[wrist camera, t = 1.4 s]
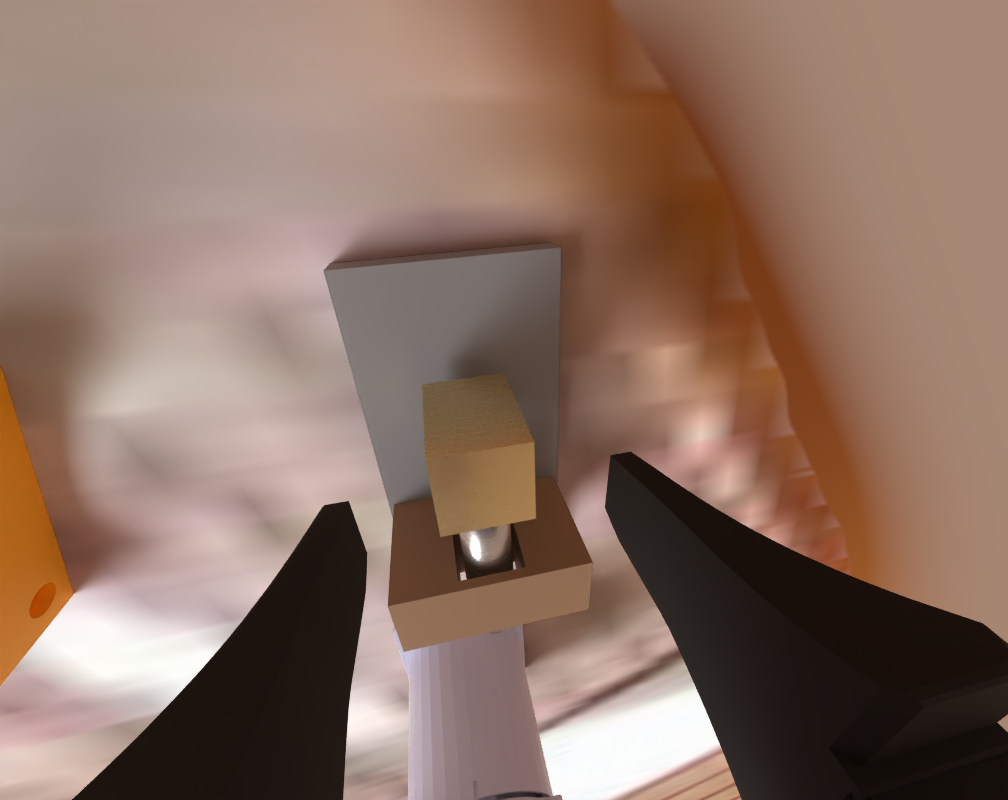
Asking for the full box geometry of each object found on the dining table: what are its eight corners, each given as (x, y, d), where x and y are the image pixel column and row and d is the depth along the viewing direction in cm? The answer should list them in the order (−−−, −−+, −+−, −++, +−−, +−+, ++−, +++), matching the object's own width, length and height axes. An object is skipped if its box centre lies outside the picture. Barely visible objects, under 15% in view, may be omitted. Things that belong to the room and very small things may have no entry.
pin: (515, 564, 20) (538, 653, 17) (457, 577, 20) (467, 671, 16) (503, 372, 15) (534, 441, 11) (421, 384, 14) (425, 460, 11)
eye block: (549, 534, 23) (590, 641, 18) (410, 561, 22) (409, 684, 17) (551, 242, 15) (625, 282, 10) (330, 263, 14) (278, 320, 9)
